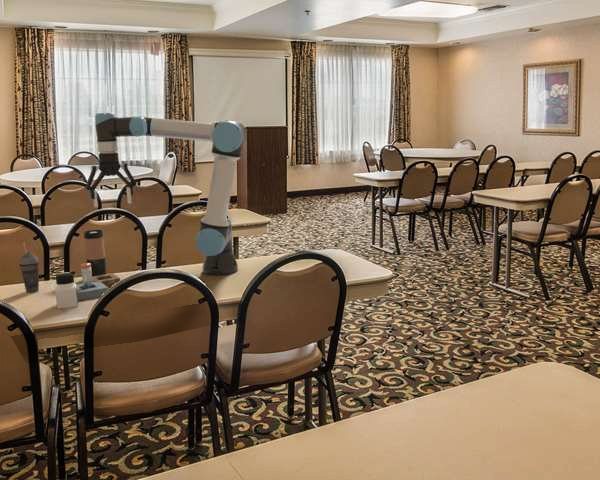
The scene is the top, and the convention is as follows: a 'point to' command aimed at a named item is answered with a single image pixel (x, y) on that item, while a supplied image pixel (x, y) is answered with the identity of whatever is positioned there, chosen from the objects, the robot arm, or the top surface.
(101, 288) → the socket
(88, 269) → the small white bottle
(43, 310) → the top surface
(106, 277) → the mount
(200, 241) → the robot arm
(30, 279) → the beverage cup
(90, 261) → the travel mug
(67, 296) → the medicine bottle
